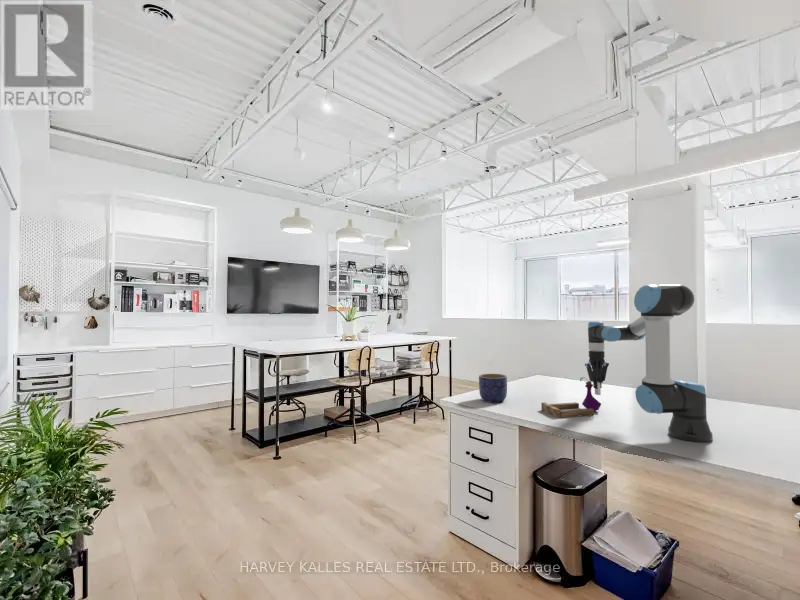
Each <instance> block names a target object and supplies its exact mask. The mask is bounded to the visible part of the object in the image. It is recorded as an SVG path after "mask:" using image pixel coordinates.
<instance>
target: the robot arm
mask: <svg viewBox="0 0 800 600" xmlns="http://www.w3.org/2000/svg"><path fill="white" fill-rule="evenodd" d="M694 303H695V295H694V293H693V291H692V290H691V289H690V288H689V287H688V286H686V285H683V284H681V283H680V284H678V283H673V284H672V283H671V284H668V283H667V284H663V283H662V284H661V283H660V284H657V283H655V284H654V283H653V284H647V285H643V286H641V287H640V288H639V289H638V290H637V291H636V292H635V295H634V299H633V304H634V308H635V309H636V311H638V312H639V313H640V317H639V318H637V319H636V320H634V321H632V322H631V323H629V324H628V325H604V322H603V321H588V323H587V324H588V325H587V337H588V357H589V359H588V362H587V363H584V366H585V367H586V370H587V371H586V372H587V375H588V378H589V381H591V383H592V384H593V386H592V388H594V395H597V396H601V395H602V394H601V393H602V391H601V389H602V387H603V386H602V383H604V382H605V381H606V376H607V371H608V367H609V365H610V363H608V362H607V361H605V360H606V359H605V341H607V342H610V343H611V342H617V341H618V342H619V341H640V340H643V339H644V338H645V340H644V341H645V376H644V377H642V379H641V385H638V386H637V387H636V388H635V399H636V401H637V404H638V405H639V406H640V408H641V409H642V410H643V411H644V412H646V413H649V414H657V415H660V414H670V413H672V415H671V420H670V423H669V426H668V429H667V431H668V435H669V436H670V437H673V438H675V439H679V440H683V441H688V442H695V443H707V442H712V441H713V432H712V431H711V428H710V425H709V423H708V420H707V419H708V418H707V394H706V392H707V391H706V388H705V385H703V384H701V383H698V382H693V381H688V380H680V379H672V378H671V340H670V339H671V336H670V334H671V333H670V331H671V330H670V324H671V323H670V321H671V320H672V319H673V318H674V317H677V316H682V315H683V314H684V313H686V312H688V311H689V310H690V309H691V308H692V307H693V305H694Z"/></svg>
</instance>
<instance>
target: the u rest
mask: <svg viewBox="0 0 800 600" xmlns="http://www.w3.org/2000/svg"><path fill="white" fill-rule="evenodd" d="M541 411H543V412H544V413H547V414H548V415H550V414H551V416H552V417H554V416H555V417H554V418H556V417H557V419H558V418H559V419H561V418H572V417H573V418H575V417H589V416H595V411H594V409H592V408H586V407H584V408H580V403H579V402H564V403H563V402H561V403H546V402H541Z"/></svg>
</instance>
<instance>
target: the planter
mask: <svg viewBox="0 0 800 600" xmlns="http://www.w3.org/2000/svg"><path fill="white" fill-rule="evenodd" d="M478 389H479V396H480V398H481V399H482V400H483V401H484V402H487V403H494V404H495V403H502V402H504V401H505V400H506V398H507V396H508V376H507V375H506V374H502V373H482V374H479V375H478Z"/></svg>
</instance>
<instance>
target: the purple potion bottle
mask: <svg viewBox="0 0 800 600" xmlns="http://www.w3.org/2000/svg"><path fill="white" fill-rule="evenodd" d="M583 379H585V380H587V381H586V382H585V386H584V387H585V388H586V389H587V390H586V395H585V398H584V400H583V401H582V403H581V404H582V406H583V407H584V408H592V409H594V412H596V411H599V410H600V408H601V405H602V403H601V402H600V401H599V400H597V399H596V398H595V397H594V396H593V395H592V388H593V383H592V381H590V380H588V378H586V377H584V376H581V377H580V379H579V380H580V382H582V380H583Z"/></svg>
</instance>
